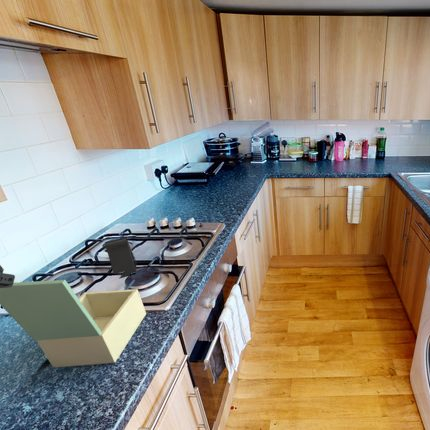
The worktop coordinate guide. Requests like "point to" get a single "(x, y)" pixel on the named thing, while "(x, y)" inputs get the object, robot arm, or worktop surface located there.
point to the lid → (48, 310)
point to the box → (108, 324)
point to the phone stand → (121, 256)
